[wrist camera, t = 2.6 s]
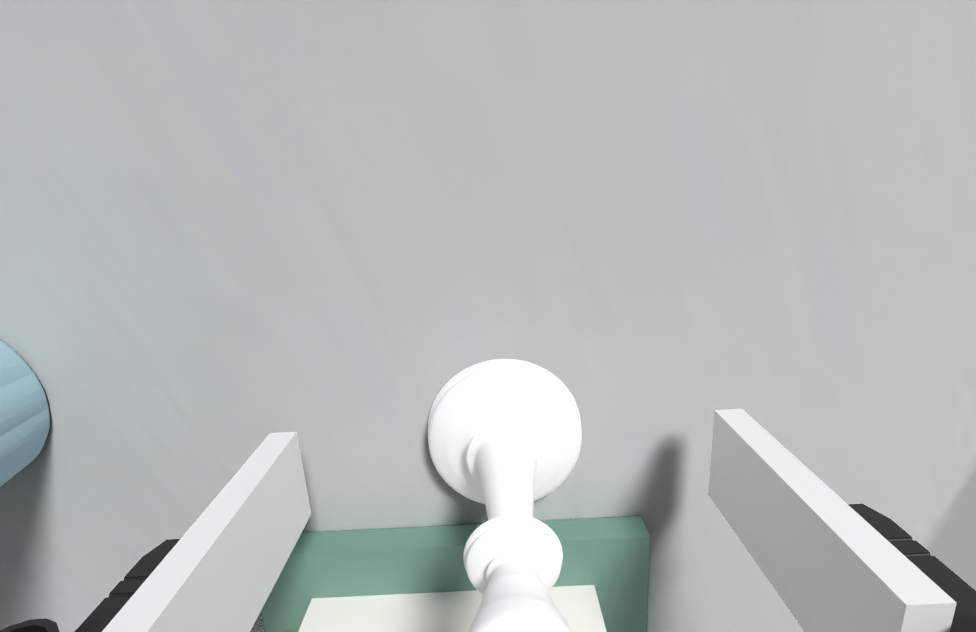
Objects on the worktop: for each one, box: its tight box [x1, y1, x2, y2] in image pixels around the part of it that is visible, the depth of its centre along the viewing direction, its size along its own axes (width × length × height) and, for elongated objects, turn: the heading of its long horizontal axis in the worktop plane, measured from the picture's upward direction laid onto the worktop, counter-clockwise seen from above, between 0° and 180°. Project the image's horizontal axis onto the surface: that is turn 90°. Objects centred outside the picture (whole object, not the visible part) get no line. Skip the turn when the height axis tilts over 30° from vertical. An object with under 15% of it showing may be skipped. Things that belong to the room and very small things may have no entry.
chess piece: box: [428, 359, 582, 632], centre depth 11 cm, size 5×5×10 cm
